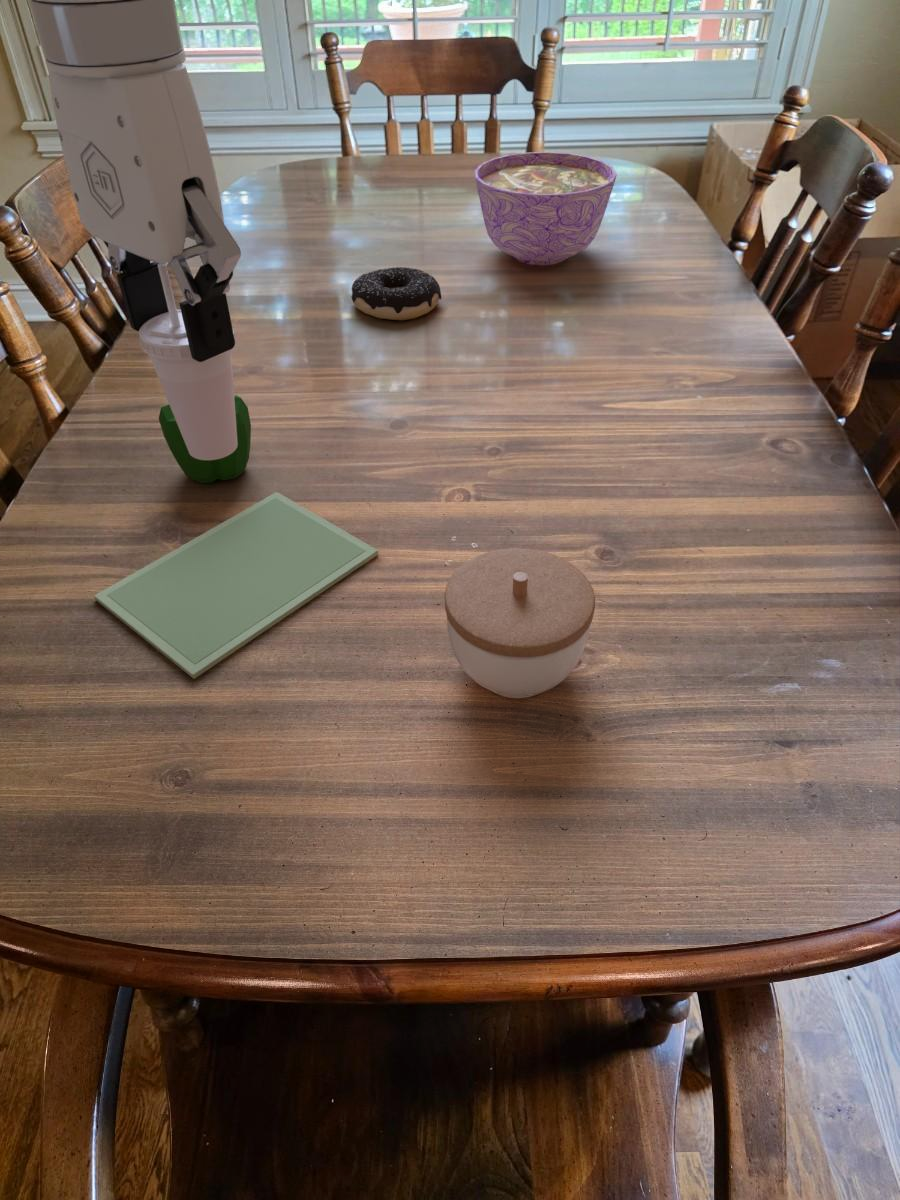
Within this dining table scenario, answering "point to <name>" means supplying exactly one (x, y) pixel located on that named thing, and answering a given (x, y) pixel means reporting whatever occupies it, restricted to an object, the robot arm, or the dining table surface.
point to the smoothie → (192, 382)
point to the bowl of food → (543, 203)
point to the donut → (396, 293)
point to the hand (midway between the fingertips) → (182, 336)
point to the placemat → (234, 582)
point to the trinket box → (518, 619)
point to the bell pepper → (209, 468)
